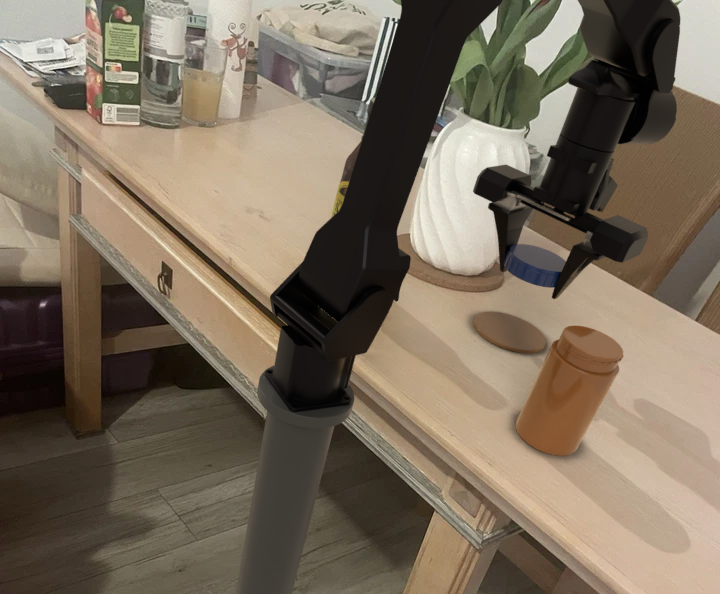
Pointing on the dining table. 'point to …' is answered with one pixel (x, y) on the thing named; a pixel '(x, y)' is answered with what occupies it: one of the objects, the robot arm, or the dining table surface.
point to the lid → (534, 265)
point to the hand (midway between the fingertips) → (528, 284)
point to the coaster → (509, 332)
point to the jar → (569, 390)
